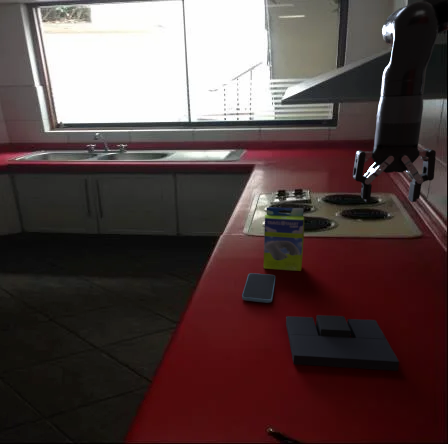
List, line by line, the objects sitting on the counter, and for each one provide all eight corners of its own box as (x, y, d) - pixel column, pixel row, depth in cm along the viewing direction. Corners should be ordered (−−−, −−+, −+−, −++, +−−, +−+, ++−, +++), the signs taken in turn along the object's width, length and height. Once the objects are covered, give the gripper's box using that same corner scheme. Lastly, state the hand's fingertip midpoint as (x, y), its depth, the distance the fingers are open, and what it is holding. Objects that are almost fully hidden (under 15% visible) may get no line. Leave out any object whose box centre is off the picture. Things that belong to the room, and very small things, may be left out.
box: (263, 269, 119) (264, 211, 113) (264, 263, 122) (265, 206, 117) (302, 272, 115) (305, 212, 110) (302, 266, 119) (304, 207, 114)
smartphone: (275, 275, 112) (272, 300, 99) (275, 278, 113) (271, 304, 99) (248, 272, 115) (241, 297, 101) (248, 276, 115) (241, 301, 101)
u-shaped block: (374, 328, 88) (375, 319, 87) (398, 371, 75) (399, 361, 74) (285, 324, 91) (286, 316, 91) (293, 364, 78) (294, 355, 78)
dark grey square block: (343, 328, 88) (344, 316, 87) (349, 343, 83) (350, 330, 82) (315, 327, 89) (316, 314, 88) (320, 342, 84) (321, 329, 83)
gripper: (364, 123, 78) (356, 206, 83) (448, 119, 75) (435, 206, 80) (354, 119, 85) (347, 196, 90) (431, 116, 82) (420, 196, 87)
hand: (389, 201), depth 85 cm, fingers open, 8 cm apart
